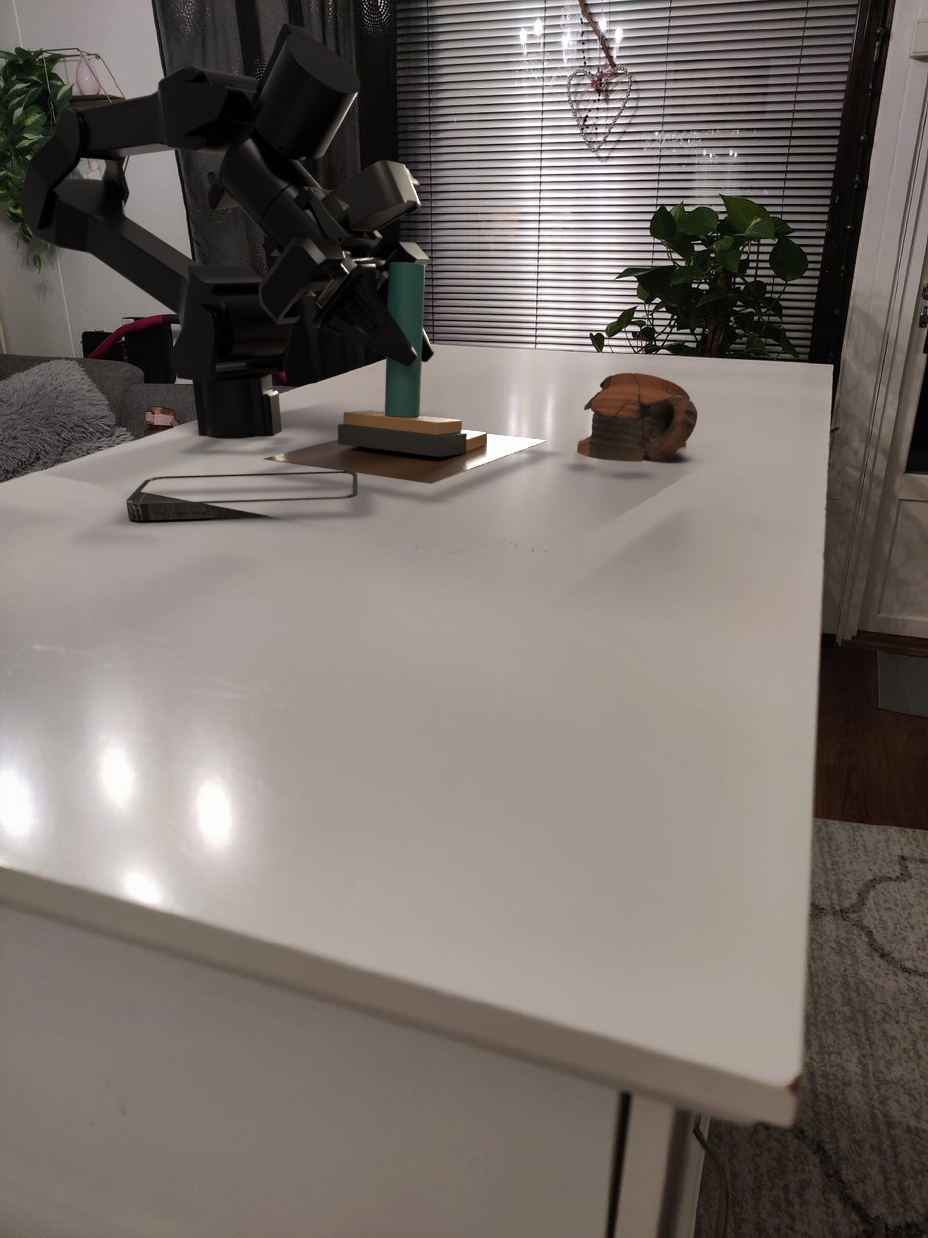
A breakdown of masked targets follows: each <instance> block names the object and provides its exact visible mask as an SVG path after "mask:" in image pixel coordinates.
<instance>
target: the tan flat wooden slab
mask: <svg viewBox="0 0 928 1238" xmlns="http://www.w3.org/2000/svg"><path fill="white" fill-rule="evenodd" d="M461 433H467V442H466V452H467V451H470V450H472V449H475V448H478V447H481V446H484V445H487V434H488V432H483V431H476V430H465V429H462V431H461Z"/></svg>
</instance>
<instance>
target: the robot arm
mask: <svg viewBox="0 0 928 1238" xmlns="http://www.w3.org/2000/svg"><path fill="white" fill-rule="evenodd" d="M359 78H360V77H359V76H358V73H357V72H356V70H355V68H354V67H353V66H352V64H351V63H349V62H348V61H347V60H343V59H342V58H341V57H340V56H339V55H338V54H337V53H335V52H334V51H333V50H332V49H331V48H329V47H328V46H326V45H325V44H324V43H322V42H320V41H318V40H317V39H315V38H313V37H312V35H311V33H309V31H308V29H307V28H306V27H302V26H299V25H294V24H290V23H283V24H282V26H281V28H280V30H279V33H278V34H277V37H276V40H275V44H274V47H273V50H272V53H271V55H270V57H269V60H268V62H267V64H266V65H265V68H264V71H263V73H262V75H261V77H260V79H257V78H255V77H253V76H247V75H241V74H236V73H231V72H226V71H220V70H216V69H215V70H214V69H209V68H203V67H198V66H192V65H184V66H182V67H179V68H178V69H176V70H174V71H172V72H171V73H169V74H167V75H166V76H164V77H162V78H161V79H160V80H159V82H158V84H157V90H156V91H155V92H153V93H151V94H147V95H143V96H138V97H137V96H136V97H133V98H127V99H122V100H118V101H114V102H107V103H103V104H98V105H93V106H87V107H77V106H71V107H70V108H69V109H64V110H62V111H61V113H60V115H59V117H58V120H57V124H56V128H55V131H54V134H53V136H51V137H50V138H49V139H48V140H47V142H45V143H44V145H42V147H41V148H39V150H38V151H37V152H36V153H34V155H33V156H31V158H30V159H29V160H28V164H27V169H26V172H25V177H24V180H23V183H22V187H21V192H20V197H19V198H20V199H19V206H20V207H19V208H20V211H21V215H22V218H23V220H24V222H25V224H26V225H27V226H28V228H29V229H30V231H31V233H32V234H33V235H34V237H36V238H37V239H38V240H39V241H41V242H44V243H46V244H49V245H51V246H54V247H57V248H61V249H65V250H71V251H76V252H81V253H86V254H90V255H91V256H93V257H94V258H96V259H97V260H99V261H100V262H102V263H103V264H104V265H106V266H108V267H109V268H111V269H112V270H113V271H114V272H116V273H117V274H119V275H120V276H122V277H124V279H126V280H127V281H128V282H130V283H132V284H133V285H134V286H135V287H137V288H139V289H140V290H142V291H143V292H144V293H146V294H147V295H149V296H150V297H152V298H153V299H154V300H156V301H157V302H159V304H162V306H164V307H165V308H167V309H169V310H170V311H171V312H173V313H175V314H176V316H178V321H179V327H180V332H179V334H178V336H177V339H176V340H175V343H174V345H173V347H172V349H171V351H170V353H169V357H170V358H169V359H170V361H171V363H172V367H173V370H174V373H175V377H176V378H177V379H179V380H180V379H181V380H186V381H188V380H189V381H192V388H193V398H194V406H195V415H196V423H197V429H198V430H197V432H198V436H199V437H200V436H201V437H208V438H212V439H220V440H221V439H223V440H238V439H239V440H240V439H251V438H265V437H274V436H277V435H278V434H279V433H281V432H283V431H282V430H283V429H282V417H281V416H282V415H281V406H280V395H279V393H280V392H278V391H277V390H274V389H273V378H272V377H273V376H272V374H283V373H285V372H286V370H287V363H288V357H289V350H290V349H289V348H290V344H291V339H292V333H293V323H294V324H295V323H297V322H298V320H299V319H300V318H301V313H300V307H299V306H298V305H297V304H296V302H297V301H298V300H299V299H300V298H301V296H302V295H304V297H316V298H317V299H316V301H315V303H316V305H317V306H318V307H319V308H320V309H319V311H318V312H317V313H316V315H315V316H314V317H313V319H312V320H311V325H312V326H313V327H315V328H316V329H323V330H325V331H327V332H330V333H331V334H334V335H337V336H339V337H341V338H343V339H347V340H348V341H351V342H353V343H356V344H358V345H359V346H362V347H364V348H367V349H369V350H371V351H373V352H375V353H377V354H380V355H382V356H384V357H385V358H386V357H388V358H390V359H392V360H394V361H397V362H399V363H401V364H403V365H405V366H411V365H412V364H413V363H414V362H415V361H416V360H417V358H418V355H417V353H416V352H415V350H414V349H413V347H412V345H411V344H410V342H409V340H408V339H407V337H406V336H405V334H404V333H403V331H402V330H401V329H400V327H399V326H398V324H397V323H396V321H395V320H394V318H393V317H392V315H391V314H390V312H389V311H388V309H387V307H388V267H389V263H391V262H404V263H417V264H423V265H425V268H426V267H427V266H428V264H429V262H430V258H429V256H428V255H427V254H426V253H425V252H424V250H422V249H421V247H420V246H419V245H418V244H417V243H416V242H409V241H407V242H406V241H384V242H383V243H382V245H380V247H379V248H378V249H377V251H376V252H375V253H374V255H373V256H372V257H371V255H370V253H369V252H370V251H371V250H374V249H375V248H376V246H377V245H378V244H379V243H380V242H381V240H382V239H383V236H382V235H381V233H379V232H378V231H379V230H380V229H383V228H385V227H386V226H388V225H389V224H392V223H393V222H395V221H396V220H398V219H400V218H401V217H403V216H405V215H412V214H413V213H415V212H417V211H418V210H420V208H421V206H422V205H421V202H420V199H419V197H418V195H417V192H418V191H419V190H420V182H419V180H418V179H416V178H414V177H413V176H412V174H411V172H410V170H409V168H406V165H405V164H404V163H400V162H396V161H392V160H387V159H384V160H383V159H382V160H378V161H376V162H374V163H372V164H370V165H369V166H367V167H365V168H364V169H361V171H358V173H356V174H354V175H353V176H352V177H350V178H348V179H346V180H345V181H343V182H342V183H340V184H339V185H337V186H336V187H335V188H334V189H324V188H323V187H321V186H320V184H319V183H318V182H317V181H316V180H315V178H314V177H312V175H311V174H310V173H309V171H307V170H306V168H305V167H304V165H302V163H301V162H300V161H304V160H305V159H310V160H314V159H316V160H317V159H320V158H321V157H324V155H325V153H326V151H327V149H328V148H329V146H330V144H331V142H332V140H333V139H334V137H335V135H336V134H337V131H338V129H339V128H340V126H341V124H342V122H343V120H344V118H345V117H346V115H347V113H348V111H349V109H350V108H351V106H352V104H353V102H354V101H355V99H356V97H357V95H358V93H359V92H360V89H361V81H360V79H359ZM176 150H183V151H188V152H195V153H205V154H216V155H223V159H222V161H221V163H220V164H219V167H218V170H213V171H209V172H207V174H206V177H207V181H208V190H207V204H208V208H209V209H210V210H211V211H219V210H223V209H229V208H235V207H239V208H240V209H241V210H242V212H244V214H245V215H246V217H248V218H249V219H250V220H251V222H253V224H254V225H255V226H256V227H257V228H258V230H259V231H260V232H261V233H262V234H263V235H264V237H265V240H264V241H263V242H262V244H261V248H262V249H263V250H264V251H265V252H266V253H267V254H268V255H269V256H270V257H278V258H277V259H276V260H275V262H274V263H273V265H272V266H271V267H270V269H269V271H268V272H267V273H266V275H265V276H264V277H263V278H262V277H261V276H259V275H258V273H256V272H255V271H254V270H253V269H251V268H250V267H248V266H247V265H244V264H205V265H204V264H199V263H198V262H197V261H195V260H193V259H192V258H190V257H189V256H188V255H185V254H184V253H183V252H181V251H179V249H177V248H175V247H174V246H172V245H170V244H169V243H167V242H166V241H164V240H163V239H161V238H160V237H158V236H157V235H155V234H154V233H152V232H150V231H149V230H148V229H146V228H144V227H142V225H140V224H138V223H137V222H135V221H133V220H132V219H131V218H129V217H128V216H126V205H127V202H128V200H129V196H130V190H129V189H130V188H129V186H128V182H127V178H126V174H125V170H124V164H125V161H126V159H127V157H131V156H139V155H146V154H153V153H154V154H155V153H160V152H161V153H162V152H167V151H169V152H170V151H176ZM81 159H88V160H89V159H90V160H99V161H100V160H102V161H104V164H105V166H106V168H105V172H104V174H103V178H102V180H101V179H98V178H97V179H95V178H82V177H68V176H69V175H70V174H71V173H72V172H73V171H74V170H75V169H76V168H77V167H78V166H79V164H80V161H81ZM434 355H435V351H434V348H433V346H432V344H431V341H430V340H429V338H428V335H427V333H426V331H425V329H424V328H423V337H422V363H428V362H429V361H430V360H431V358H432V357H434ZM241 361H245V362H241ZM230 362H231V363H230ZM232 362H236V363H232ZM237 362H238V363H237ZM220 363H221V364H220ZM222 363H228V364H222ZM217 364H219V365H217Z"/></svg>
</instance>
